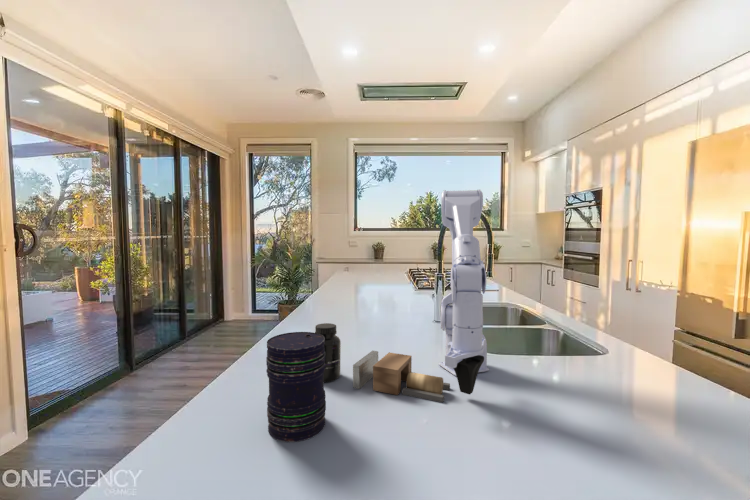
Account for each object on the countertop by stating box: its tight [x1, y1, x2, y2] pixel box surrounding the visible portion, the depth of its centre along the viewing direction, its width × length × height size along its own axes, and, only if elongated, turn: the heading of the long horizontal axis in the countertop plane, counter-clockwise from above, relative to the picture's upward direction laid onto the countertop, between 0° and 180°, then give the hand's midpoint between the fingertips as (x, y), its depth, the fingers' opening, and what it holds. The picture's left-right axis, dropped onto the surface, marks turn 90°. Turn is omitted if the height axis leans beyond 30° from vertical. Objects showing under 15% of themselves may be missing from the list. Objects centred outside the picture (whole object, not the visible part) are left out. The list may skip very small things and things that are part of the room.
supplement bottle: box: [314, 322, 342, 383], centre depth 78 cm, size 7×7×12 cm
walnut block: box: [372, 352, 413, 396], centre depth 74 cm, size 6×9×5 cm, turn 156°
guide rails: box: [401, 381, 451, 403], centre depth 71 cm, size 8×7×1 cm
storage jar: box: [265, 331, 327, 443], centre depth 58 cm, size 10×10×15 cm
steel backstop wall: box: [352, 350, 379, 390], centre depth 77 cm, size 2×10×5 cm, turn 156°
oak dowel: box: [405, 371, 444, 395], centre depth 71 cm, size 7×4×4 cm, turn 66°
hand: (466, 392), depth 68 cm, fingers closed
